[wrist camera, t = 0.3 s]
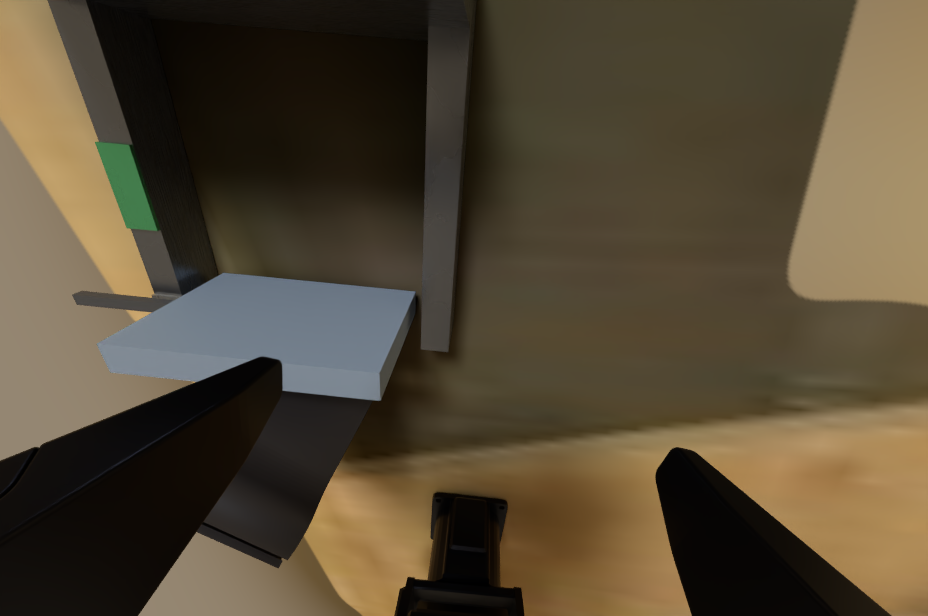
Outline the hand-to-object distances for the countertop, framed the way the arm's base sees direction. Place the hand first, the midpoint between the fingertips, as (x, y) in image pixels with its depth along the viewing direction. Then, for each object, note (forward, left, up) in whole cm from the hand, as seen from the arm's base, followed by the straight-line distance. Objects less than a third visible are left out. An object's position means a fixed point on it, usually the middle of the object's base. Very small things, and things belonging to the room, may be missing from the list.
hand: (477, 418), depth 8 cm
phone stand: (-10, +10, -14) cm, 20 cm away
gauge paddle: (-4, +13, -13) cm, 19 cm away
